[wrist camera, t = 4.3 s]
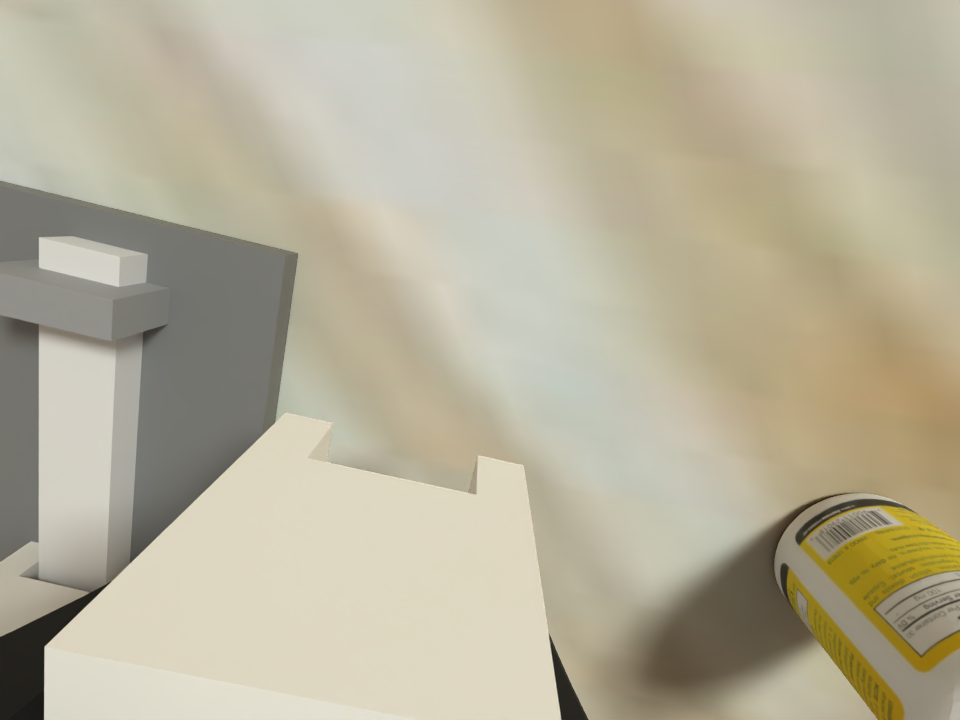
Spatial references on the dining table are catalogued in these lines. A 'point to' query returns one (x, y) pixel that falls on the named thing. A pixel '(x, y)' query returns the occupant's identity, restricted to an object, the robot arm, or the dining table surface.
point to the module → (319, 601)
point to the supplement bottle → (879, 601)
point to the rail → (121, 384)
